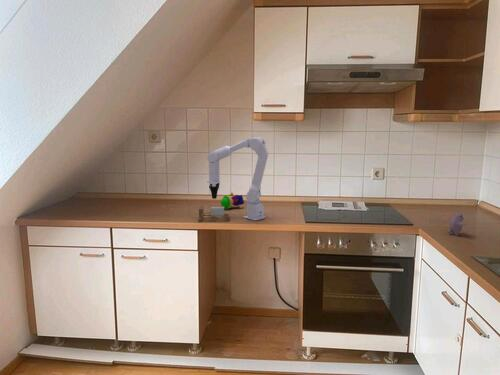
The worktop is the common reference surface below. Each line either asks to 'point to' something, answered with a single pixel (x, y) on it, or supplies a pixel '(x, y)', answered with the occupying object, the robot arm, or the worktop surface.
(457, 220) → the figurine
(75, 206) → the worktop surface
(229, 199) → the toy
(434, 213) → the worktop surface
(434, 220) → the worktop surface
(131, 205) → the worktop surface
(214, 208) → the grey rectangular block
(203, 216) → the sill track
